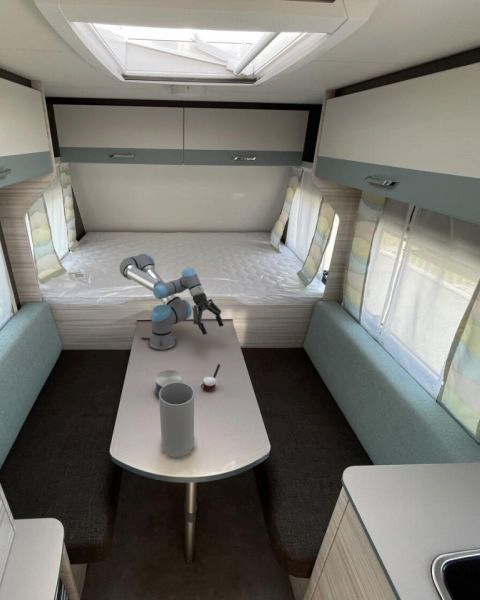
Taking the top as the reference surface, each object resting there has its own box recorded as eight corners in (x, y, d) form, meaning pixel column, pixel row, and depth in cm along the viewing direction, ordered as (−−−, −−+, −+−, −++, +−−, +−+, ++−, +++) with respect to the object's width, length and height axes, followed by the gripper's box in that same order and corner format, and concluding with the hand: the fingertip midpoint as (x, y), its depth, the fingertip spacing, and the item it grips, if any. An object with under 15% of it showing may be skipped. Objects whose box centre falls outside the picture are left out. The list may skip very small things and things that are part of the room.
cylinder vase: (198, 452, 123) (199, 400, 113) (166, 462, 119) (164, 408, 109) (187, 428, 134) (187, 379, 124) (158, 436, 130) (155, 386, 120)
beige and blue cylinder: (150, 391, 155) (149, 377, 152) (170, 380, 163) (169, 366, 160) (167, 404, 147) (167, 390, 144) (187, 391, 155) (187, 378, 152)
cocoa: (201, 393, 154) (201, 372, 149) (199, 384, 160) (199, 364, 155) (221, 391, 155) (222, 370, 150) (218, 383, 161) (219, 363, 156)
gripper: (185, 298, 169) (202, 336, 168) (217, 287, 185) (232, 321, 184) (177, 302, 174) (193, 339, 173) (209, 291, 191) (223, 324, 190)
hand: (213, 330), depth 179 cm, fingers open, 13 cm apart
